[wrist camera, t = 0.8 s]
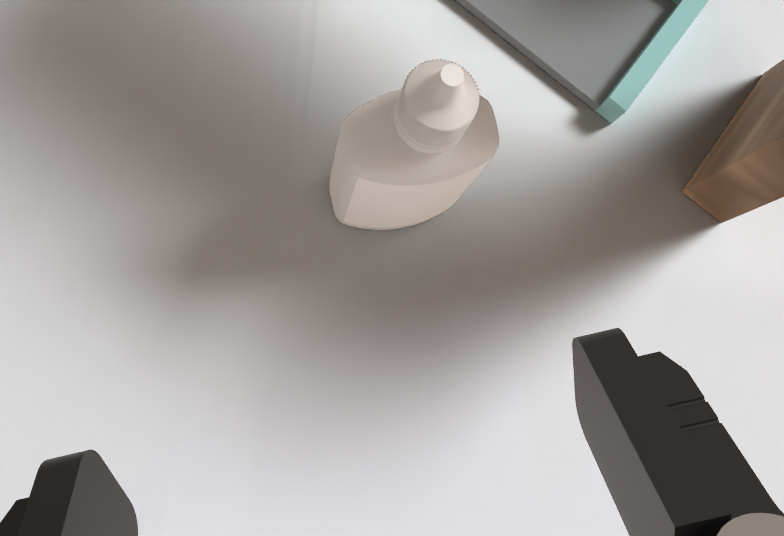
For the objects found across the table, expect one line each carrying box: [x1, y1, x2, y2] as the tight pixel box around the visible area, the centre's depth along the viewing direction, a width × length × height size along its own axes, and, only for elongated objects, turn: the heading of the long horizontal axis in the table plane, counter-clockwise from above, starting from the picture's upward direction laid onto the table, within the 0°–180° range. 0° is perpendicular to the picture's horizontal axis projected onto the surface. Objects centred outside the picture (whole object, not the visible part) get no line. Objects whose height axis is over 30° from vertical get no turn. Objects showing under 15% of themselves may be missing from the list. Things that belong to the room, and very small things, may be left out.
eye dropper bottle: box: [329, 59, 499, 230], centre depth 27 cm, size 4×6×12 cm
